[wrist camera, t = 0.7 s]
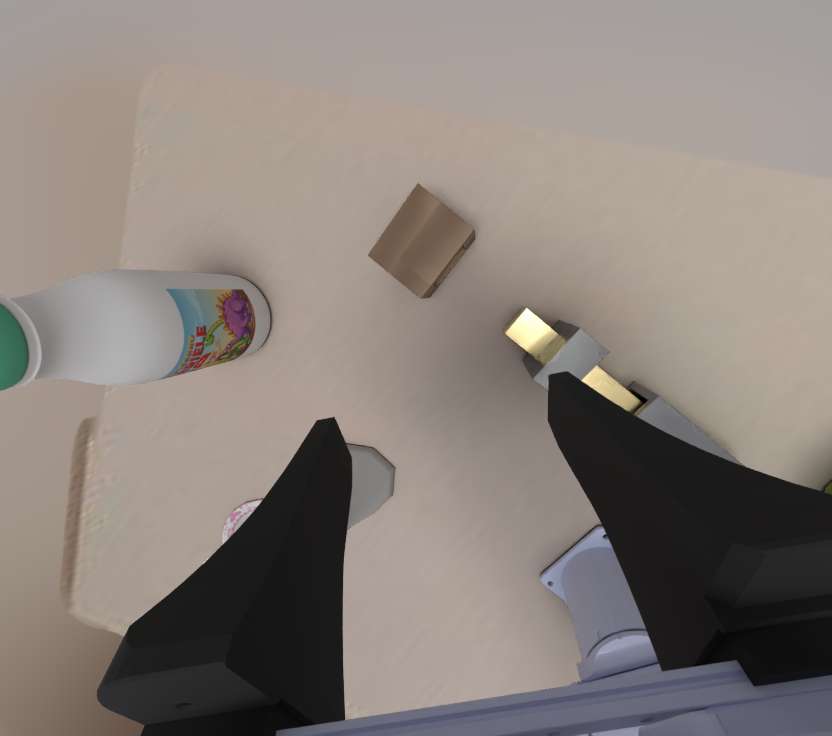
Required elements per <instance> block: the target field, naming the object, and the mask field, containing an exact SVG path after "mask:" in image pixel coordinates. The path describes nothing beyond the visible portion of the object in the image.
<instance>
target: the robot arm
mask: <svg viewBox="0 0 832 736" xmlns="http://www.w3.org/2000/svg"><path fill="white" fill-rule="evenodd" d="M548 422H549V424H550V427H551V429H552V432H553V434H554V437H555V439H556V441H557V444H558V446H559V448H560V450H561V452H562V453H563V455H564V457H565V459H566V461H567V462H568V464H569V466H570V468H571V469H572V471H573V473H574V475H575V476H576V478H577V480H578V481H579V483H580V485H581V487H582V488H583V490H584V492H585V494H586V495H587V497H588V499H589V500H590V502H591V504H592V506H593V508H594V510H595V511H596V513H597V515H598V517H599V519H600V521H601V524H602V526H598V527H596V528H595V529H594V530H593V531H591V532H590V533H589V534H588V535H587V536H586V537H584V538H583V539H582V540H581V541H580V542H579V543H577V544H576V545H575V546H574V547H573V548H572V549H570V550H569V551H568V552H567V553H566V554H565V555H563V556H562V557H561V558H560V559H559V560H558V561H556V562H555V563H554V564H553V565H552V566H551V567H549V568H548V569H547V570H546V571H545V572H544V573H542V574H541V576H540V579H541V582H542V583H543V584H544V585H545V586H546V587H548V588H549V589H550V590H551V591H553V592H554V593H555V594H556V595H557V596H559V597H560V598H561V599H562V600H564V601H565V602H566V603H567V606H568V609H569V613H570V617H571V620H572V624H573V628H574V631H575V635H576V639H577V642H578V646H579V650H580V653H581V657H582V662H580V663H577V667H578V671H579V675H580V679H581V682H582V683H581V682H579V681H578V682H574V683H572V684H571V685H570V686H565V687H558V688H552V689H545V690H539V691H532V692H526V693H519V694H513V695H506V696H500V697H493V698H487V699H480V700H474V701H467V702H461V703H454V704H448V705H441V706H435V707H428V708H421V709H415V710H408V711H402V712H395V713H389V714H382V715H376V716H369V717H363V718H356V719H350V720H345V706H344V678H343V564H344V551H345V543H346V535H347V527H348V519H349V511H350V502H351V494H352V456H351V454H350V452H349V449H348V447H347V445H346V443H345V440H344V438H343V436H342V433H341V431H340V429H339V426H338V424H337V422H336V420H335V417H332V418H327V419H322V420H317V421H316V423H315V424H314V426H313V427H312V429H311V430H310V432H309V433H308V435H307V437H306V438H305V440H304V441H303V443H302V444H301V446H300V448H299V449H298V451H297V452H296V454H295V455H294V457H293V458H292V460H291V461H290V463H289V464H288V466H287V467H286V469H285V470H284V472H283V473H282V475H281V476H280V477H279V479H278V480H277V482H276V483H275V484H274V486H273V487H272V488H271V490H270V491H269V492H268V494H267V495H266V496H265V498H264V499H263V500H262V502H261V503H260V504H259V505H258V506H257V508H256V509H255V510H254V511H253V512H252V514H251V515H250V516H249V517H248V518H247V519H246V520H245V522H244V523H243V524H242V525H241V526H240V527H239V528H238V529H237V530H236V531H235V532H234V533H233V535H232V536H231V537H230V538H229V539H228V540H227V541H226V542H225V543H224V544H223V545H222V546H221V547H220V548H219V549H218V550H217V551H216V552H215V553H214V554H213V555H212V556H211V557H210V558H209V559H208V560H207V561H206V562H205V563H204V564H203V565H201V566H200V567H199V568H198V569H197V570H196V571H195V572H194V573H193V574H192V575H191V576H189V577H188V578H187V579H186V580H185V581H184V582H183V583H182V584H180V585H179V586H178V587H177V588H176V589H175V590H174V591H172V592H171V593H170V594H169V595H168V596H166V597H165V598H164V599H163V600H161V601H160V602H159V603H158V604H156V605H155V606H154V607H153V608H152V609H150V610H149V611H148V612H147V613H145V614H144V615H143V616H142V617H140V618H139V619H138V620H137V621H135V622H134V623H133V624H132V625H130V627H129V628H128V630H127V632H126V634H125V636H124V638H123V640H122V642H121V644H120V646H119V648H118V650H117V652H116V654H115V656H114V658H113V660H112V662H111V664H110V666H109V668H108V670H107V672H106V674H105V676H104V678H103V680H102V682H101V684H100V686H99V688H98V690H97V698H98V701H99V702H100V703H101V705H102V706H104V707H105V708H107V709H109V710H111V711H113V712H115V713H118V714H120V715H123V716H125V717H127V718H129V719H132V720H134V721H136V722H139V723H141V724H143V725H145V726H144V729H143V731H142V734H141V736H832V495H831V494H828V493H825V492H821V491H818V490H814V489H811V488H807V487H804V486H801V485H797V484H794V483H791V482H788V481H785V480H782V479H779V478H776V477H773V476H770V475H767V474H764V473H761V472H758V471H755V470H753V469H750V468H747V467H745V466H742V465H739V464H737V463H734V462H731V461H729V460H726V459H724V458H722V457H719V456H717V455H714V454H712V453H709V452H707V451H705V450H702V449H700V448H698V447H696V446H693V445H691V444H689V443H687V442H685V441H683V440H681V439H679V438H676V437H674V436H672V435H670V434H668V433H666V432H664V431H662V430H660V429H658V428H657V427H655V426H653V425H651V424H649V423H648V422H646V421H644V420H642V419H640V418H639V417H637V416H635V415H633V414H632V413H630V412H628V411H627V410H625V409H623V408H622V407H620V406H619V405H617V404H616V403H614V402H612V401H611V400H609V399H608V398H606V397H605V396H603V395H602V394H600V393H599V392H597V391H596V390H594V389H593V388H591V387H590V386H588V385H587V384H586V383H584V382H583V381H581V380H580V379H578V378H577V377H575V376H574V375H572V374H571V373H570V372H568V371H565V372H560V373H554V374H549V375H548ZM605 534H606V535H607V536H606V537H603V535H605ZM549 581H551V582H552V583H548V582H549Z"/></svg>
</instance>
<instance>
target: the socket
mask: <svg viewBox="0 0 832 736" xmlns="http://www.w3.org/2000/svg"><path fill="white" fill-rule="evenodd" d="M474 240H475V231H474V228H472V227H471V226H470V225H469V224H467V223H466V222H465V221H464V220H463V219H461V218H460V217H459V216H458V215H456V214H455V213H454V212H453V211H452V210H450V209H449V208H448V207H447V206H445V205H444V204H443V203H442V202H440V201H439V200H438V199H437V198H436V197H434V196H433V195H432V194H431V193H429V192H428V191H427V190H426V189H425V188H423V187H422V186H421V185H420V184H417V185H416V187H415V188H414V189H413V191H412V192H411V194H410V195H409V197H408V198H407V200H406V201H405V202H404V204H403V205H402V207H401V208H400V210H399V211H398V213H397V214H396V215H395V217H394V218H393V220H392V221H391V223H390V224H389V225H388V227H387V228H386V230H385V231H384V233H383V234H382V236H381V237H380V238H379V240H378V241H377V243H376V244H375V246H374V247H373V249H372V250H371V251H370V253H369V254H368V256H369V257H370V258H372V259H373V260H374V261H375V262H377V263H378V264H379V265H380V266H381V267H383V268H384V269H385V270H386V271H388V272H389V273H390V274H391V275H392V276H394V277H395V278H396V279H397V280H399V281H400V282H401V283H402V284H404V285H405V286H406V287H407V288H408V289H410V290H411V291H412V292H413V293H415V294H416V295H417V296H418V297H419V298H429V297H431V295H432V294H433V293H434V291H435V290H436V289H437V288H438V286H439V285H440V284H441V282H442V281H443V280H444V279H445V277H446V276H447V275H448V273H449V272H450V271H451V270H452V268H453V267H454V266H455V264H456V263H457V262H458V260H459V259H460V258H461V257H462V255H463V254H464V253H465V251H466V250H467V249H468V248H469V246H470V245H471V244H472V242H473V241H474Z"/></svg>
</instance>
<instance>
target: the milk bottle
mask: <svg viewBox="0 0 832 736" xmlns="http://www.w3.org/2000/svg"><path fill="white" fill-rule="evenodd" d="M269 329H270V312H269V307H268V305H267V303H266V300H265V299H264V297H263V295H262V294H261V293H260V291H259V290H258V289H257V288H256V287H255V286H254V285H253V284H251V283H250V282H249V281H247V280H245V279H243V278H241V277H238V276H233V275H224V274H209V273H193V272H176V271H156V270H105V271H96V272H91V273H86V274H82V275H79V276H76V277H73V278H70V279H68V280H65V281H63V282H61V283H59V284H57V285H54V286H52V287H50V288H48V289H46V290H43V291H40V292H37V293H34V294H31V295H27V296H23V297H18V298H12V299H9V298H7V297H4V296H2V295H0V391H1V390H5V389H7V388H10V387H21V386H24V385H26V384H28V383H29V382H31V381H32V380H33V379H37V378H58V379H69V380H76V381H82V382H88V383H94V384H100V385H115V386H117V385H134V384H141V383H147V382H151V381H156V380H160V379H165V378H169V377H173V376H176V375H180V374H184V373H187V372H191V371H195V370H199V369H202V368H206V367H209V366H213V365H217V364H220V363H224V362H227V361H231V360H234V359H238V358H241V357H244V356H247V355H250V354H252V353H254V352H255V351H257V350H258V349H259V348H260V347H261V346H262V344H263V343H264V341H265V340H266V338H267V335H268V333H269Z"/></svg>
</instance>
